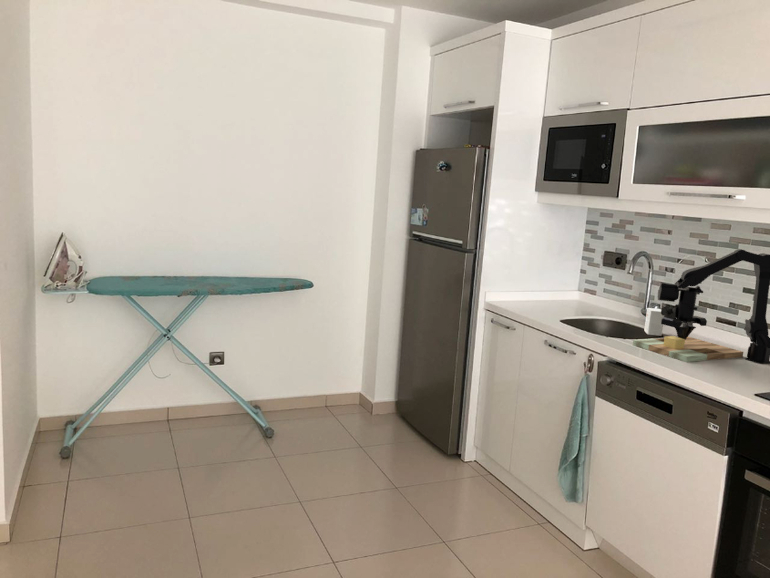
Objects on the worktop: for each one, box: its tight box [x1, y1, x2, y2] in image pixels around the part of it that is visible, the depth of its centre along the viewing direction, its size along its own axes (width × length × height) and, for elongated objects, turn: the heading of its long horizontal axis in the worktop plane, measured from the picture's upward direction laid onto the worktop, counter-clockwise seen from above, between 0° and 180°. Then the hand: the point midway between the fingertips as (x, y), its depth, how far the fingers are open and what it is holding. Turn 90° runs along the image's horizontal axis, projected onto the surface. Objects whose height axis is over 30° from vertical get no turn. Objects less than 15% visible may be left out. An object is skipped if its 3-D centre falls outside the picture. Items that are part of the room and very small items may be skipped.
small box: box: [644, 307, 664, 337], centre depth 268 cm, size 8×6×10 cm
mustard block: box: [663, 335, 685, 349], centre depth 236 cm, size 5×5×4 cm
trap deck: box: [632, 336, 744, 363], centre depth 241 cm, size 24×32×2 cm
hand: (680, 343), depth 238 cm, fingers closed
